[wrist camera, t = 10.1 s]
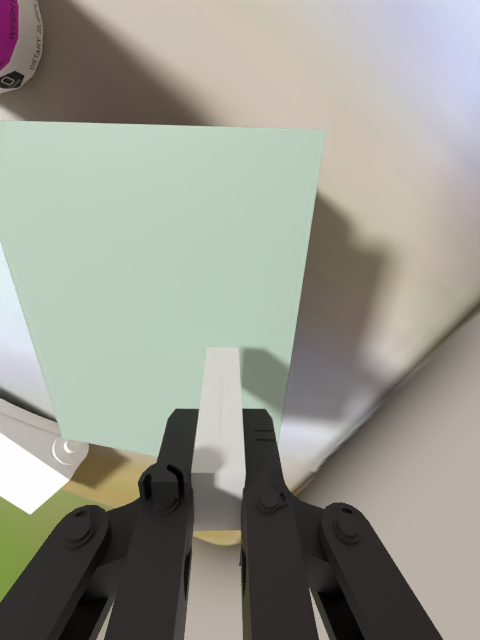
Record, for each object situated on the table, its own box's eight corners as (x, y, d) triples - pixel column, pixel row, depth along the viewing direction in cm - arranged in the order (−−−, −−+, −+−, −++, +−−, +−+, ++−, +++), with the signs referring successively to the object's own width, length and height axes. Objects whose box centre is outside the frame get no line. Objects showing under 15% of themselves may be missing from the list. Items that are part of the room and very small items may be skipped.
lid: (-14, 123, 14) (-39, 119, 13) (323, 134, 12) (325, 129, 11) (73, 426, 23) (62, 437, 22) (273, 464, 21) (272, 479, 20)
